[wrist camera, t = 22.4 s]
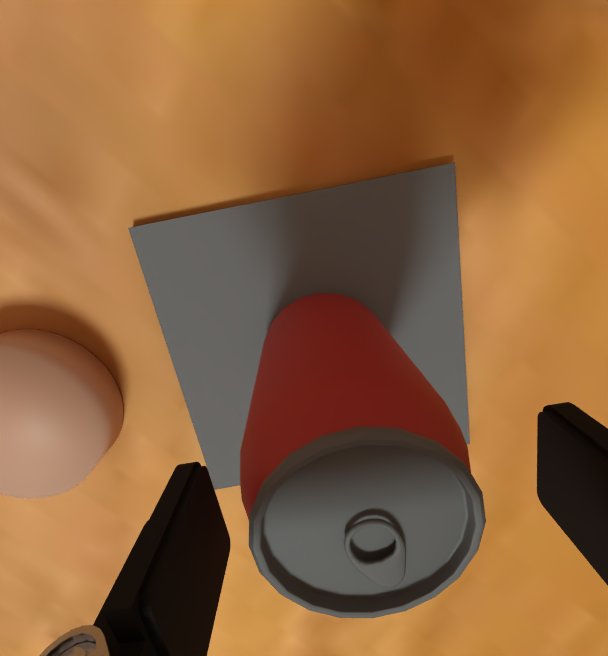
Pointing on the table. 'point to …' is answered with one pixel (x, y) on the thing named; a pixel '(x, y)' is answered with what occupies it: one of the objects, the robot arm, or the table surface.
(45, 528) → the table surface
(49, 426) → the pinkish beige domed disc
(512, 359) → the table surface
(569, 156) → the table surface
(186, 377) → the slate mat
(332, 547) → the beer can
